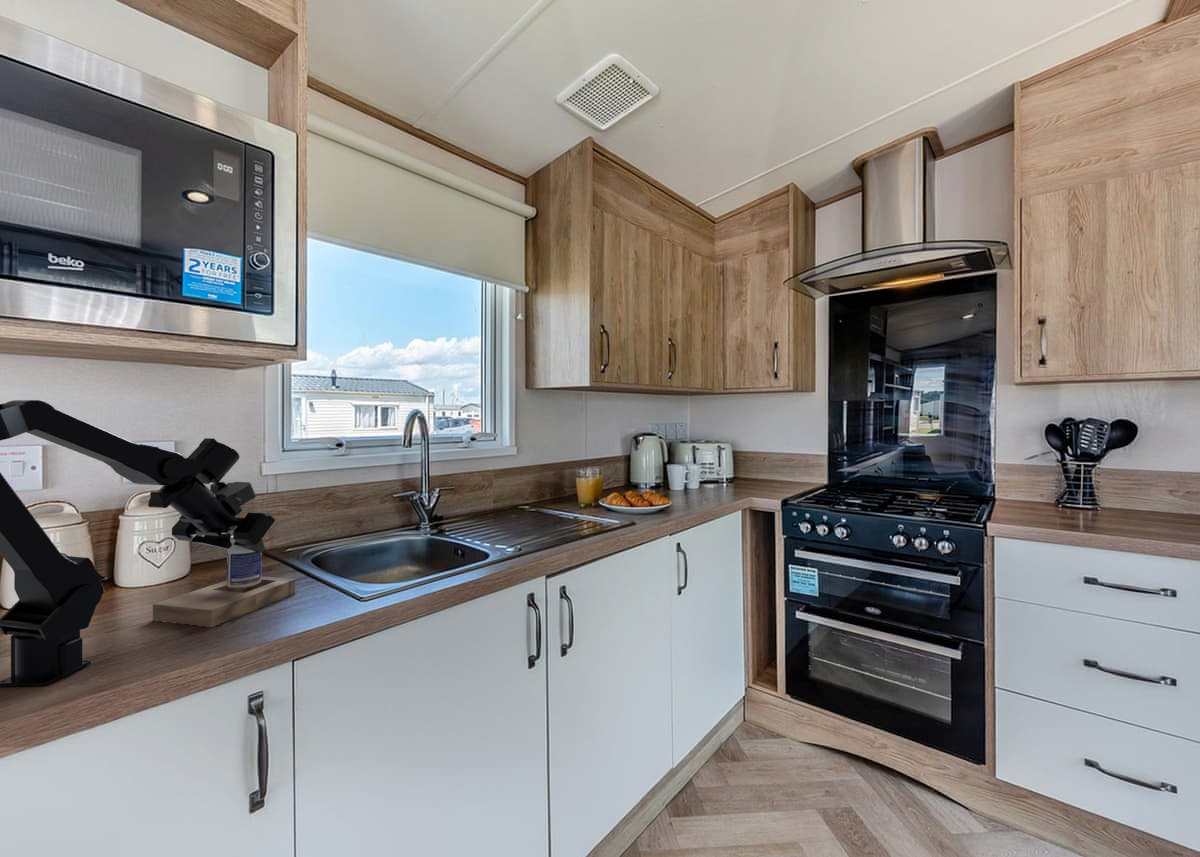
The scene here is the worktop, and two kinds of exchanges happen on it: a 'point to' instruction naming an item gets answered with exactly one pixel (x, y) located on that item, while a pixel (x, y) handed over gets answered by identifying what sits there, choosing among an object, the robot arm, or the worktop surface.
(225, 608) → the brown block with opening
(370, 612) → the worktop surface
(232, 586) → the pill bottle
